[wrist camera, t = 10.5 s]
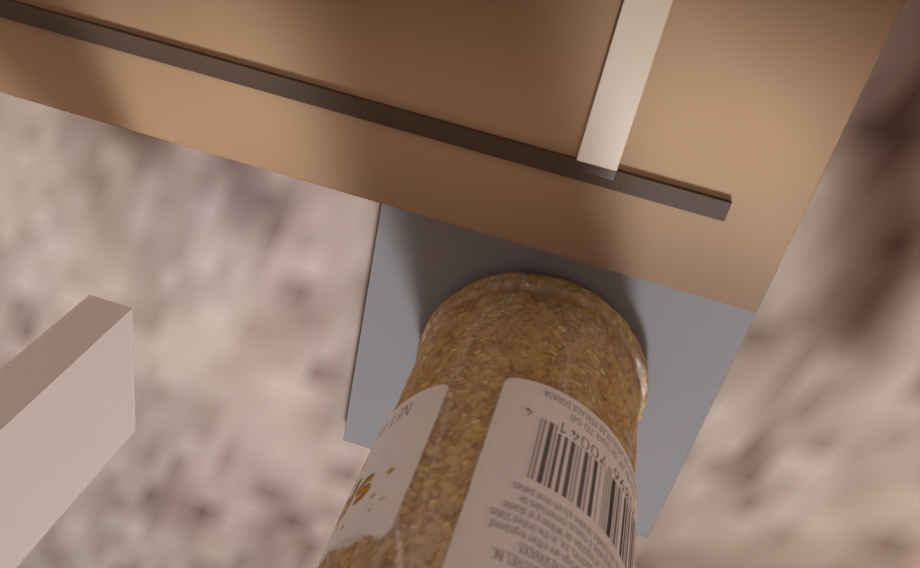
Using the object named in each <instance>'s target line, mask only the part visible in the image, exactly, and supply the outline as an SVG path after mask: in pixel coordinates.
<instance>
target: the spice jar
mask: <svg viewBox="0 0 920 568" xmlns="http://www.w3.org/2000/svg"><path fill="white" fill-rule="evenodd" d="M648 387H649V377H648V365H647V362H646V359H645V357H644V355H643V352H642V348H641V345H640V343H639V341H638V339H637V337H636V336H635V335H634V333H633V332H632V331H631V330H630V327H629V325H628V323H627V322H626V321H625V320H624V319H623V317H622V316H621V315H620V314H619V313H618V312H617V311H615V310H614V309H613V308H612V307H611V306H610V305H609V304H607V303H606V302H605V301H604V300H603V299H602V298H601V297H599V296H598V295H596V294H594V293H593V292H591V291H589V290H587V289H585V288H582V287H581V286H579V285H577V284H575V283H572V282H570V281H567V280H563V279H560V278H555V277H549V276H543V275H538V274H533V273H520V272H506V273H501V274H498V275H495V276H491V277H486V278H483V279H480V280H478V281H476V282H473V283H471V284H469V285H467V286H465V287H464V288H463V289H462V290H461V291H459V292H457V293H455V294H453V295H452V296H451V297H450V298H449V299H447V300H446V301H444V302H443V303H442V304H441V305H440V306H439V307H438V308H437V310H436V311H435V312H434V313H433V315H432V316H431V317H430V319H429V321H428V323H427V326H426V328H425V329H424V331H423V333H422V335H421V338H420V342H419V345H418V348H417V355H416V363H415V365H414V367H413V369H412V371H411V374H410V376H409V378H408V379H407V381H406V384H405V387H404V389H403V391H402V393H401V396H400V399H399V401H398V404H397V405H396V407H395V409H394V411H393V413H392V414H391V415H390V416H389V418H388V419H387V421H386V422H385V424H384V425H383V426H382V428H381V430H380V432H379V434H378V437H377V439H376V441H375V443H374V445H373V447H372V449H371V451H370V453H369V456H368V458H367V460H366V462H365V464H364V466H363V468H362V471H361V473H360V475H359V477H358V479H357V481H356V483H355V486H354V488H353V490H352V492H351V494H350V496H349V498H348V501H347V503H346V505H345V507H344V509H343V512H342V514H341V516H340V518H339V520H338V523H337V525H336V527H335V529H334V531H333V533H332V536H331V538H330V540H329V542H328V544H327V546H326V549H325V551H324V553H323V555H322V557H321V560H320V562H319V564H318V566H317V568H635V549H636V529H637V509H638V492H637V484H636V479H635V472H636V454H637V430H638V422H639V421H640V419H641V418H642V415H643V412H644V408H645V405H646V403H647V399H648Z"/></svg>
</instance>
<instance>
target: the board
mask: <svg viewBox="0 0 920 568" xmlns="http://www.w3.org/2000/svg"><path fill="white" fill-rule="evenodd" d="M905 1H906V0H0V92H2V93H5V94H9V95H12V96H15V97H19V98H22V99H26V100H29V101H33V102H36V103H39V104H43V105H46V106H50V107H53V108H57V109H60V110H63V111H67V112H70V113H74V114H77V115H81V116H84V117H87V118H91V119H94V120H98V121H101V122H105V123H108V124H111V125H115V126H118V127H122V128H125V129H129V130H132V131H135V132H139V133H142V134H146V135H149V136H153V137H156V138H159V139H163V140H166V141H170V142H173V143H177V144H180V145H183V146H187V147H190V148H194V149H197V150H201V151H204V152H207V153H211V154H214V155H218V156H221V157H224V158H228V159H231V160H235V161H238V162H242V163H245V164H248V165H252V166H255V167H259V168H262V169H266V170H269V171H272V172H276V173H279V174H283V175H286V176H290V177H293V178H296V179H300V180H303V181H307V182H310V183H314V184H317V185H320V186H324V187H327V188H331V189H334V190H338V191H341V192H344V193H348V194H351V195H355V196H358V197H362V198H365V199H368V200H372V201H375V202H379V203H382V204H386V205H389V206H392V207H396V208H399V209H403V210H406V211H410V212H413V213H416V214H420V215H423V216H427V217H430V218H434V219H437V220H440V221H444V222H447V223H451V224H454V225H458V226H461V227H464V228H468V229H471V230H475V231H478V232H482V233H485V234H488V235H492V236H495V237H499V238H502V239H506V240H509V241H512V242H516V243H519V244H523V245H526V246H530V247H533V248H536V249H540V250H543V251H547V252H550V253H554V254H557V255H560V256H564V257H567V258H571V259H574V260H578V261H581V262H584V263H588V264H591V265H595V266H598V267H602V268H605V269H608V270H612V271H615V272H619V273H622V274H626V275H629V276H632V277H636V278H639V279H643V280H646V281H649V282H653V283H656V284H660V285H663V286H667V287H670V288H673V289H677V290H680V291H684V292H687V293H691V294H694V295H697V296H701V297H704V298H708V299H711V300H715V301H718V302H721V303H725V304H728V305H732V306H735V307H739V308H742V309H745V310H749V311H752V312H756V311H757V309H758V307H759V305H760V303H761V301H762V298H763V296H764V294H765V292H766V290H767V288H768V286H769V284H770V282H771V280H772V278H773V276H774V273H775V271H776V269H777V267H778V265H779V263H780V261H781V259H782V257H783V255H784V253H785V251H786V249H787V246H788V244H789V242H790V240H791V238H792V236H793V234H794V232H795V230H796V228H797V226H798V224H799V221H800V219H801V217H802V215H803V213H804V211H805V209H806V207H807V205H808V203H809V201H810V199H811V197H812V194H813V192H814V190H815V188H816V186H817V184H818V182H819V180H820V178H821V176H822V174H823V172H824V169H825V167H826V165H827V163H828V161H829V159H830V157H831V155H832V153H833V151H834V149H835V147H836V144H837V142H838V140H839V138H840V136H841V134H842V132H843V130H844V128H845V126H846V124H847V122H848V120H849V117H850V115H851V113H852V111H853V109H854V107H855V105H856V103H857V101H858V99H859V97H860V95H861V92H862V90H863V88H864V86H865V84H866V82H867V80H868V78H869V76H870V74H871V72H872V70H873V67H874V65H875V63H876V61H877V59H878V57H879V55H880V53H881V51H882V49H883V47H884V45H885V43H886V40H887V38H888V36H889V34H890V32H891V30H892V28H893V26H894V24H895V22H896V20H897V18H898V15H899V13H900V11H901V9H902V7H903V5H904V3H905Z"/></svg>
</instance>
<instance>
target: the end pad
mask: <svg viewBox="0 0 920 568" xmlns="http://www.w3.org/2000/svg"><path fill="white" fill-rule="evenodd" d="M776 271H777V269H776ZM776 271H775V273H776ZM506 272H520V273H533V274H538V275H543V276H549V277H555V278H560V279H563V280H567V281H570V282H572V283H575V284H577V285H579V286H581V287H582V288H585V289H587V290H589V291H591V292H593V293H594V294H596V295H598V296H599V297H601V298H602V299H603V300H604V301H605V302H606V303H607V304H609V305H610V306H611V307H612V308H613V309H614V310H615V311H617V312H618V313H619V314H620V315H621V316H622V317H623V319H624V320H625V321H626V322H627V323H628V325H629V327H630V330H631V331H632V332H633V333H634V335H635V336H636V337H637V339H638V341H639V343H640V345H641V348H642V352H643V355H644V357H645V359H646V362H647V365H648V377H649V387H648V399H647V403H646V405H645V408H644V412H643V415H642V418H641V419H640V421H639V422H638V430H637V454H636V472H635V479H636V484H637V492H638V509H637V529H636V534H637V535H641V536H644V537H647V538H648V537H649V535H650V533H651V531H652V529H653V527H654V524H655V522H656V520H657V518H658V516H659V514H660V512H661V510H662V508H663V506H664V504H665V502H666V499H667V497H668V495H669V493H670V491H671V489H672V487H673V485H674V483H675V481H676V479H677V477H678V475H679V472H680V470H681V468H682V466H683V464H684V462H685V460H686V458H687V456H688V454H689V452H690V450H691V448H692V445H693V443H694V441H695V439H696V437H697V435H698V433H699V431H700V429H701V427H702V425H703V423H704V421H705V418H706V416H707V414H708V412H709V410H710V408H711V406H712V404H713V402H714V400H715V398H716V396H717V393H718V391H719V389H720V387H721V385H722V383H723V381H724V379H725V377H726V375H727V373H728V371H729V369H730V366H731V364H732V362H733V360H734V358H735V356H736V354H737V352H738V350H739V348H740V346H741V344H742V342H743V339H744V337H745V335H746V333H747V331H748V329H749V327H750V325H751V323H752V321H753V319H754V317H755V315H756V312H757V311H756V312H752V311H749V310H745V309H742V308H739V307H735V306H732V305H728V304H725V303H721V302H718V301H715V300H711V299H708V298H704V297H701V296H697V295H694V294H691V293H687V292H684V291H680V290H677V289H673V288H670V287H667V286H663V285H660V284H656V283H653V282H649V281H646V280H643V279H639V278H636V277H632V276H629V275H626V274H622V273H619V272H615V271H612V270H608V269H605V268H602V267H598V266H595V265H591V264H588V263H584V262H581V261H578V260H574V259H571V258H567V257H564V256H560V255H557V254H554V253H550V252H547V251H543V250H540V249H536V248H533V247H530V246H526V245H523V244H519V243H516V242H512V241H509V240H506V239H502V238H499V237H495V236H492V235H488V234H485V233H482V232H478V231H475V230H471V229H468V228H464V227H461V226H458V225H454V224H451V223H447V222H444V221H440V220H437V219H434V218H430V217H427V216H423V215H420V214H416V213H413V212H410V211H406V210H403V209H399V208H396V207H392V206H389V205H386V204H382V206H381V212H380V218H379V224H378V230H377V237H376V243H375V249H374V255H373V261H372V267H371V273H370V279H369V286H368V292H367V298H366V304H365V310H364V316H363V322H362V328H361V335H360V341H359V347H358V353H357V359H356V365H355V371H354V377H353V384H352V390H351V396H350V402H349V408H348V414H347V420H346V426H345V433H344V439H343V440H345V441H348V442H351V443H354V444H357V445H360V446H363V447H366V448H370V449H372V447H373V445H374V443H375V441H376V439H377V437H378V434H379V432H380V430H381V428H382V426H383V425H384V424H385V422H386V421H387V419H388V418H389V416H390V415H391V414H392V413H393V411H394V409H395V407H396V405H397V404H398V401H399V399H400V396H401V393H402V391H403V389H404V387H405V384H406V381H407V379H408V378H409V376H410V374H411V371H412V369H413V367H414V365H415V363H416V355H417V348H418V345H419V342H420V338H421V335H422V333H423V331H424V329H425V328H426V326H427V323H428V321H429V319H430V317H431V316H432V315H433V313H434V312H435V311H436V310H437V308H438V307H439V306H440V305H441V304H442V303H443V302H444V301H446V300H447V299H449V298H450V297H451V296H452V295H453V294H455V293H457V292H459V291H461V290H462V289H463V288H464V287H465V286H467V285H469V284H471V283H473V282H476V281H478V280H480V279H483V278H486V277H491V276H495V275H498V274H501V273H506ZM775 273H774V275H775ZM773 277H774V276H773ZM772 279H773V278H772ZM771 281H772V280H771ZM770 283H771V282H770ZM769 285H770V284H769ZM768 287H769V286H768ZM767 290H768V288H767ZM767 290H766V292H767ZM766 292H765V294H766ZM765 294H764V296H765ZM764 296H763V298H764ZM763 298H762V300H763ZM761 302H762V301H761ZM760 304H761V303H760ZM759 306H760V305H759ZM758 308H759V307H758ZM757 310H758V309H757Z"/></svg>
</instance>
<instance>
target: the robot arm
mask: <svg viewBox="0 0 920 568" xmlns="http://www.w3.org/2000/svg"><path fill="white" fill-rule="evenodd" d="M134 431H135V395H134V355H133V314H132V308H130V307H127V306H123V305H120V304H117V303H114V302H111V301H107V300H104V299H101V298H98V297H95V296H91V295H89V296H88V297H87V298H85V299H84V300H83V301H82V302H81V303H79V304H78V305H77V306H76V307H75V308H74V309H72V310H71V311H70V312H69V313H68V314H66V315H65V316H64V317H63V318H62V319H60V320H59V321H58V322H57V323H56V324H54V325H53V326H52V327H51V328H50V329H48V330H47V331H46V332H45V333H44V334H42V335H41V336H40V337H39V338H38V339H36V340H35V341H34V342H33V343H32V344H30V345H29V346H28V347H27V348H26V349H24V350H23V351H22V352H21V353H20V354H18V355H17V356H16V357H15V358H14V359H13V360H11V361H10V362H9V363H8V364H7V365H5V366H4V367H3V368H2V369H1V370H0V568H16V567H17V566H18V565H19V564H20V563H21V562H22V560H23V559H24V558H25V557H26V556H27V555H28V554H29V552H30V551H31V550H32V549H33V548H34V547H35V545H36V544H37V543H38V542H39V541H40V540H41V539H42V537H43V536H44V535H45V534H46V533H47V532H48V530H49V529H50V528H51V527H52V526H53V525H54V524H55V522H56V521H57V520H58V519H59V518H60V517H61V515H62V514H63V513H64V512H65V511H66V510H67V509H68V507H69V506H70V505H71V504H72V503H73V502H74V501H75V499H76V498H77V497H78V496H79V495H80V494H81V492H82V491H83V490H84V489H85V488H86V487H87V486H88V484H89V483H90V482H91V481H92V480H93V479H94V477H95V476H96V475H97V474H98V473H99V472H100V471H101V469H102V468H103V467H104V466H105V465H106V464H107V463H108V461H109V460H110V459H111V458H112V457H113V456H114V454H115V453H116V452H117V451H118V450H119V449H120V448H121V446H122V445H123V444H124V443H125V442H126V441H127V439H128V438H129V437H130V436H131V435H132V434H133V433H134Z"/></svg>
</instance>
